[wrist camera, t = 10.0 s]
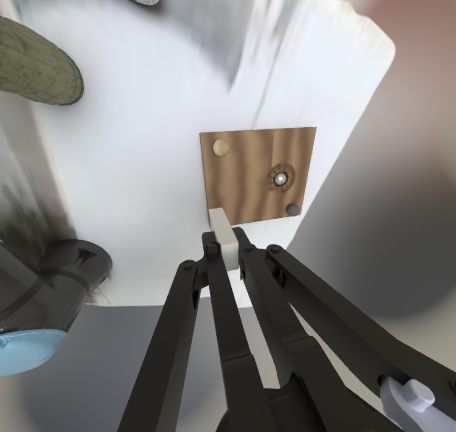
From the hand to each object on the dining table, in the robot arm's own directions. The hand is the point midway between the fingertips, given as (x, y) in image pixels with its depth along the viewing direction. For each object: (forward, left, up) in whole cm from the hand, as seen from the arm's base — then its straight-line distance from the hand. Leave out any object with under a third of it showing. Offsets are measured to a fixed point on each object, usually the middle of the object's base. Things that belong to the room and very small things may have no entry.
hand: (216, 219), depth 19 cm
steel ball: (+21, -4, -25) cm, 33 cm away
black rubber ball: (+25, -13, -22) cm, 36 cm away
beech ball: (+5, +5, -22) cm, 23 cm away
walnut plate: (+15, -4, -26) cm, 31 cm away
